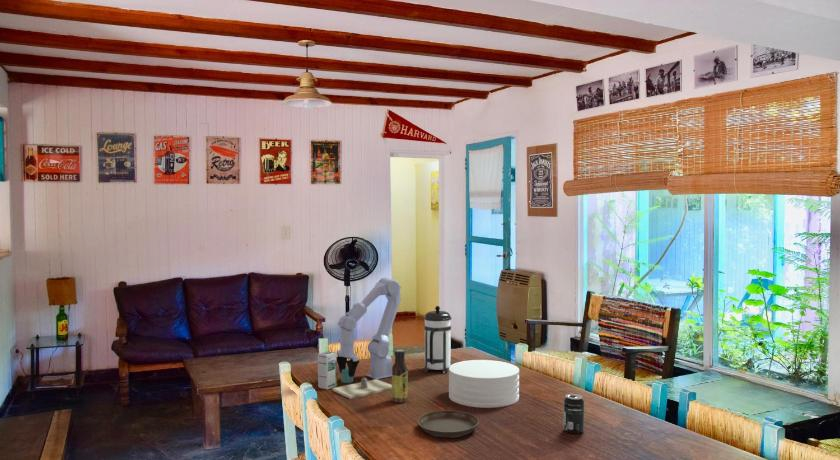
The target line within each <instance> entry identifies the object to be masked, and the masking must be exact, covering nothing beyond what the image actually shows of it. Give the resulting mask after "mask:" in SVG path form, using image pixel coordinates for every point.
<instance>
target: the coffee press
mask: <svg viewBox="0 0 840 460" xmlns="http://www.w3.org/2000/svg"><path fill="white" fill-rule="evenodd" d="M434 309H435V310H431V311H427V312H426V313H425V315H424V316H423V320H424V324H423V329H424V368H423V369H422V371H423V372H424V373H427V372H428V371H429V370H434V371H435V370H437V371H439V370H440V371H442V373H443V374H448V369H449V367H450V366H451V365H452V363H451V351H452V348H451V343H452V342H451V341H452V339H451V335H452V333H451V330H452V324H451V321H452V316H451V314H450V313H449V312H447V311H445V310H441V307H440V306H439V305H436V306H435V308H434Z"/></svg>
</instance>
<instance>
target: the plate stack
mask: <svg viewBox="0 0 840 460" xmlns="http://www.w3.org/2000/svg"><path fill="white" fill-rule="evenodd" d="M448 385H449V386H448V398H449V399H450V400H451V401H452V402H454V403H457V404H459V405H462V406H465V407H473V408H481V409H482V408H483V409H484V408H487V409H489V408H490V409H491V408H492V409H493V408H502V407H507V406H512V405H513V404H516V403H517V402H518V401H519V400H520V368H519V367H518V366H516V365H515V364H512V363H509V362H505V361H499V360H491V359H472V360H469V359H468V360H463V361H458V362H455V363H451V366H450V367H449V368H448Z"/></svg>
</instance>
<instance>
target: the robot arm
mask: <svg viewBox="0 0 840 460" xmlns="http://www.w3.org/2000/svg"><path fill="white" fill-rule="evenodd" d="M401 288H402V287H401V285H400V283H399V282H398V281H397V279H390V278H387V277H382V278H380V279H379V281H378V282H376V283H375V285H374V287H373V288H372V289H371V290H370V291H369V293H368V294H367V295H366V296H365V297H364V299H362V301H361V302H357V303H354V304H353V305H352V307H351V308H350V310H349V311H348V312H345V315H342V316H341V317H340V318H339V320H338V323H337V324H338V327H339V328H340V332H339V333H340V339H339V340H340V350H336V358H337V365H338V366H337V367H338V369H339V373H340V374H341V372H342V369H348V371H349V377H353V378H354V377H355V374H356V370H357V367H358V365H359V363H360V360H359V356H358V355H356V354H355V352H354V351H355V348H354V346H355V345H354V344H355V340H354V339H355V336H354V334H355V333H354V332H355V331H354V330H355V328H356V326H357V322H358V321H360V319H361V318H362V317H363V316H364V315H365V314H366V313H367V309H368V307H369V306H370V305H372V303H373V302H375V300H376V299H378V298H379V297H380V296H385V298H386V300H387V302H386V305H385V308H384V311H383V314H382V318H381V320H380V322H379V326H378V329H377V332H376V333H375V335H373V336H372V339H371V341H370V342H369V343H368V345H367V351H368V352H369V353H370V356H369V357H370V364H369V365H370V366H369V367H370V368H369V370H370V373H367V374H366V377H369V378H371V379H373V380H375V379H378V380H380V379H385V378H390V377H392V367H393V360H392V357H391V356H390V355H389V352H390V339H389V338H390V337H389V336H390V334H391V331H392V327H393V324H394V321H395V319H396V315H397V312H398V309H399V306H400V303H401V298H402V297H401Z"/></svg>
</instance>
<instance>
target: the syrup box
mask: <svg viewBox="0 0 840 460" xmlns="http://www.w3.org/2000/svg"><path fill="white" fill-rule="evenodd" d="M336 357H337V352H334V351H329V350H328V351H324V352H320V353H317V382H318V383H317V384H318V385H317V386H318V388H319V389H324V390H330V389H333V388H336V387H338V369H337V367H338V366H337V365H338V363H337V358H336Z"/></svg>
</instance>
